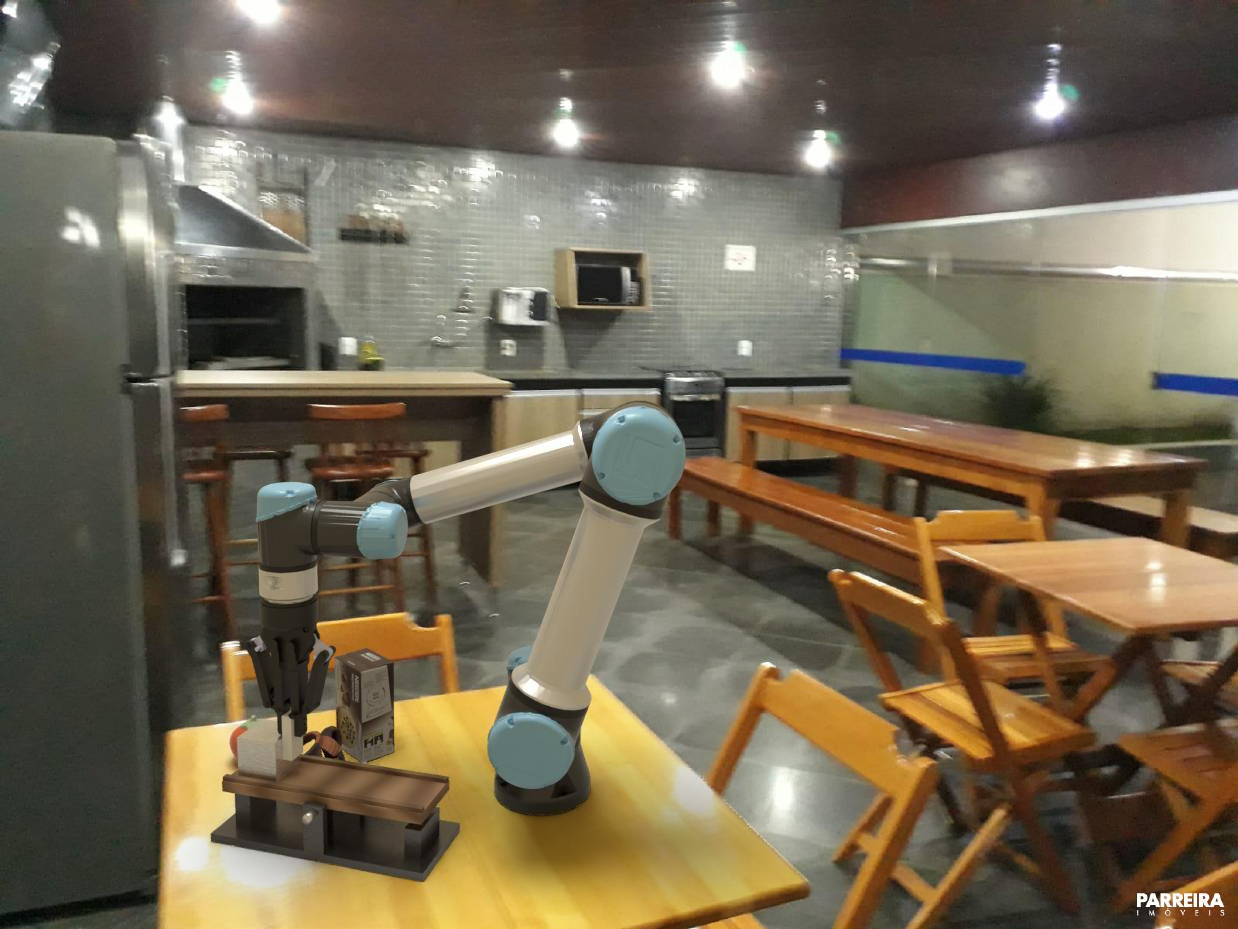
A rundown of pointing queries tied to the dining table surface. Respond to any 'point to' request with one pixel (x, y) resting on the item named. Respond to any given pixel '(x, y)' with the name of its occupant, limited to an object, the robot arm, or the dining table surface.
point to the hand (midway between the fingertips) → (293, 755)
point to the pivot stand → (338, 836)
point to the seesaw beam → (350, 788)
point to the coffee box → (365, 703)
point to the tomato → (239, 731)
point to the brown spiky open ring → (325, 743)
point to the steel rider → (263, 753)
